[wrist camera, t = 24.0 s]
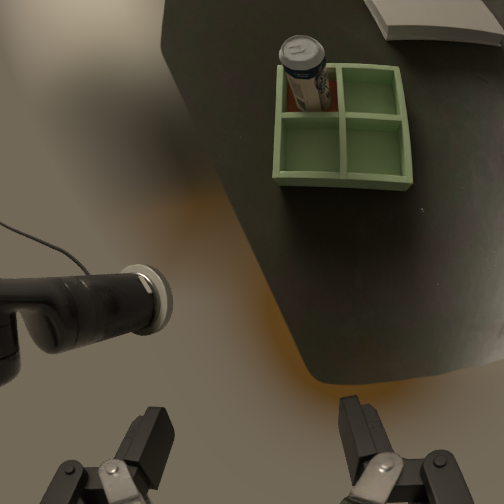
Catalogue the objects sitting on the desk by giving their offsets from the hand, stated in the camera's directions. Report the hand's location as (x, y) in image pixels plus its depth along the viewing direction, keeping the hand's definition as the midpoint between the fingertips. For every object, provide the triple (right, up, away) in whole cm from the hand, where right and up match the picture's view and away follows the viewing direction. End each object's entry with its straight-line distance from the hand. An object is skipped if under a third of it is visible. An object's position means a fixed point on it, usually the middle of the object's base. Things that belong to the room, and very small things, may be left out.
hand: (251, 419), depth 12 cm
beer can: (+8, +28, +24) cm, 38 cm away
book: (+31, +51, +19) cm, 62 cm away
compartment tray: (+12, +24, +24) cm, 36 cm away
